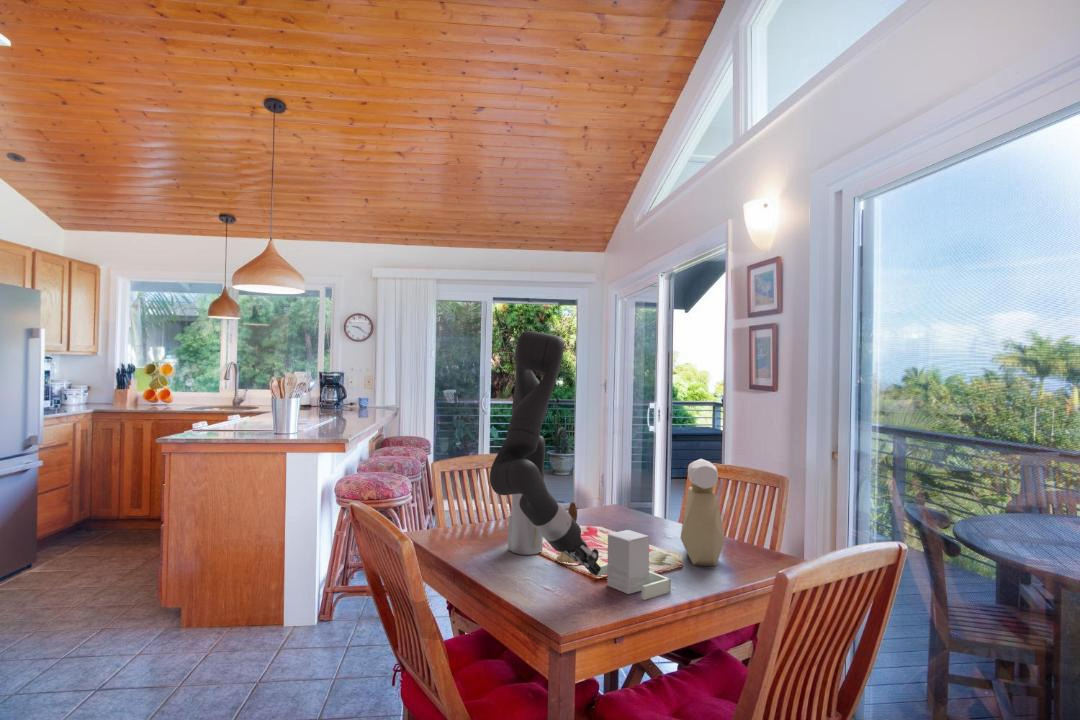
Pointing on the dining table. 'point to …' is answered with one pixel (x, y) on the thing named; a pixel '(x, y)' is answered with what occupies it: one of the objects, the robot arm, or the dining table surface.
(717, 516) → the perfume bottle
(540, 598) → the dining table surface
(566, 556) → the hand bell
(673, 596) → the dining table surface
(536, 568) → the dining table surface
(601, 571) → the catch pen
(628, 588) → the supplement box
